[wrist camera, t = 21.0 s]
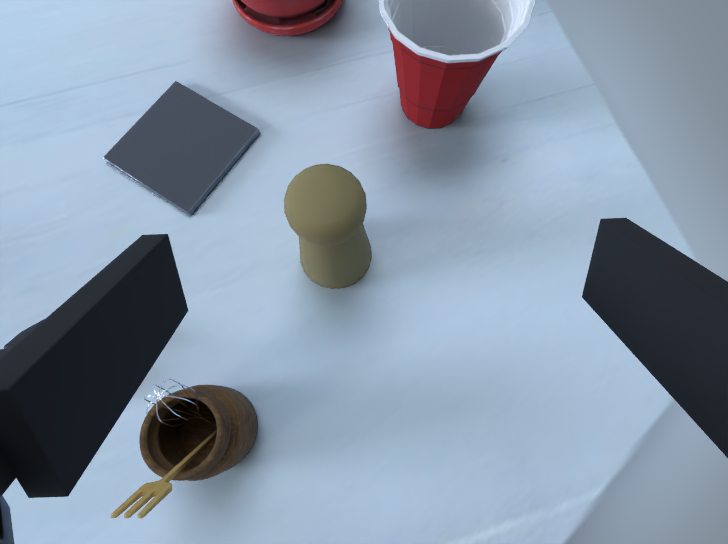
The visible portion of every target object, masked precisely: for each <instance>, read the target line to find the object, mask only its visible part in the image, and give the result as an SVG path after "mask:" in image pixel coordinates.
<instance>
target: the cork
mask: <svg viewBox="0 0 728 544" xmlns="http://www.w3.org/2000/svg"><path fill="white" fill-rule="evenodd" d="M284 209H285V215H286V217H287V220H288V222H289V224H290V227H291V228H292V229H293V230H294V231H295V232H296V234H297V235H298V236H299V244H300V259H301V264H302V267H303V269H304V272H305V273H306V274H307V276H308V277H309V278H310V279H311V280H312V281H313V282H315V283H317V284H318V285H320V286H323V287H327V288H331V289H335V288H345V287H347V286H350V285H352V284H355V283H356V282H357V281H358V280H359V279H361V278H362V277H363V276H364V274H365V273H366V271H367V270H368V268H369V265H370V261H371V257H372V255H371V246H370V243H369V240H368V237H367V235H366V232H365V229H364V226H363V221H364V217H365V213H366V195H365V192H364V190H363V188H362V186H361V184H360V182H359V180H358V179H357V178H356V177H355V176H354V175H353V174H352V173H351V172H350V171H348V170H346V169H344V168H342V167H340V166H335V165H330V164H320V165H314V166H312V167H309V168H306V169H304V170H303V171H302V172H300V173H299V174H298V175H296V176H295V177H294V179H293V180H292V181H291V183H290V184H289V185H288V188H287V191H286V194H285V198H284Z"/></svg>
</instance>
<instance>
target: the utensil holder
mask: <svg viewBox="0 0 728 544" xmlns="http://www.w3.org/2000/svg"><path fill="white" fill-rule="evenodd" d="M167 380H169V379H167ZM167 380H165V381H167ZM170 380H173V379H170ZM165 381H164V382H165ZM173 381H175V380H173ZM164 382H163V383H162V385H163V384H164ZM175 382H177V381H175ZM177 383H178V382H177ZM178 384H180V383H178ZM153 385H155V384H153ZM153 385H152V387H153ZM162 385H161V387H162ZM180 385H181V384H180ZM155 386H157V385H155ZM175 386H179V385H175ZM175 386H172V387H175ZM181 386H182V385H181ZM183 386H186V385H183ZM183 386H182V387H183ZM157 387H159V386H157ZM161 387H159V388H160V389H163V388H161ZM172 387H170V388H172ZM186 387H188V386H186ZM170 388H168V389H170ZM183 388H184V387H183ZM160 389H159V392H160ZM168 389H166V390H168ZM153 390H154V387H153ZM163 390H165V389H163ZM166 390H165V391H166ZM154 391H155V390H154ZM165 391H163V392H165ZM159 392H158V394H157V393H156V391H155V393H156V394H157V395H152V396H157V397H155V398H154V399H153V400H155V399H156V398H157V402H156V404H155V405H154V406H153V407H152V408H151V410H150V411H149V412H148V414H147V409H148V407H149V405H150V404H151V403H152V402H153V400H152V401H151V402H150V401H148V400H146V399H145V398H146V397H150V396H146V397H144V399H145V400H146V401H148V402H150V404H149V405H148V407H147V409H146V414H147V416H146V418H145V420H144V422H143V424H142V428H141V432H140V450H141V454H142V457H143V459H144V461H145V463H146V464H147V466H148V467H149V468H150V469H151V470H152V471H153V472H154V473H156V474H157V475H159V476H161V477H163V478H162V479H161V480H159V481H156V482H151V483H146V484H144V485H143V486H141V487H140V488H139V489H138V490H137V491H136V492H135V493H134V494H133V495H132V496H130V497H129V498H128V499H127V500H126V501H125V502H124V503H123V504H122V505H121V506H120V507H118V508H117V509H116V510H115V511H114V512H113V513H112V514H111V518H116V517H117V516H119V515H120V514H121V513H122V512H123V511H125V510H126V509H127V508H128V507H129V506H131V505H132V504H133V503H134V502H135V501H136V500H138V499H139V498H140V497H142V496H143V497H142V498H141V499H140V500H139V501H138V502H137V503H136V504H135V505H134V506H132V507H131V508H130V509H129V510H128V511H127V512H126V513H125V514H124V518H129V517H131V516H132V515H133V514H134V513H135V512H137V511H138V510H139V509H140V508H141V507H142V506H143V505H144V504H146V503H147V502H148V501H149V500H150V499H151V498H152V497H154V496H155V497H154V498H153V499H152V500H151V501H150V502H149V503H148V504H147V505H146V506H145V508H144V509H143V510H142V511H141V512H140V513H139V514H138V515H137V517H138V518H143V517H144V516H145V515H146V514H148V513H149V512H150V511H151V510H152V509H153V508H154V507H155V506H156V505H157V504H158V503H159V502H160V501H161V500H162V499H163V498H164V497H165V496H167V495H168V494H169V493H170V492H171V491H172V484H171V483H168V482H169V481H170V480H179V481H182V480H189V481H196V480H203V479H207V478H210V477H213V476H215V475H218V474H220V473H222V472H224V471H226V470H228V469H230V468H232V467H233V466H235V465H236V464H237V463H239V462H240V461H241V460H242V459H243V458H244V457H245V456H246V455H247V453H248V452H249V451H250V449H251V447H252V445H253V443H254V441H255V437H256V433H257V417H256V413H255V410H254V408H253V406H252V404H251V403H250V401H249V400H248V399H247V398H246V397H245V396H244V395H243V394H241V393H240V392H238V391H236V390H234V389H231V388H228V387H223V386H216V385H197V386H192V387H188V388H186V389H185V388H184V389H183V390H179V391H176V392H174V393H169V392H168V391H166V392H168V393H169V395H167V396H165V397H164V398H162V399H161V398H160V397H159V396H163V395H160V394H162V393H163V392H162V393H160V394H159ZM158 397H159V398H160V400H159V401H158ZM152 404H154V403H152Z"/></svg>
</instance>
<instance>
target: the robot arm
mask: <svg viewBox="0 0 728 544" xmlns="http://www.w3.org/2000/svg"><path fill="white" fill-rule="evenodd" d="M582 298H583V299H584V300H585V301H586V302H587V303H588V304H589V305H590V306H591V308H592V309H593V310H594V311H595V312H596V313H597V314H598V315H599V316H600V317H601V319H602V320H603V321H604V322H605V323H606V324H607V325H608V326H609V327H610V329H611V330H612V331H613V332H614V333H615V334H616V335H617V336H618V337H619V338H620V340H621V341H622V342H623V343H624V344H625V345H626V346H627V347H628V348H629V350H630V351H631V352H632V353H633V354H634V355H635V356H636V357H637V358H638V359H639V361H640V362H641V363H642V364H643V365H644V366H645V367H646V368H647V369H648V371H649V372H650V373H651V374H652V375H653V376H654V377H655V378H656V379H657V380H658V382H659V383H660V384H661V385H662V386H663V387H664V388H665V389H666V390H667V392H668V393H669V394H670V395H671V396H672V397H673V398H674V399H675V400H676V401H677V402H678V404H679V405H680V406H681V407H682V408H683V409H684V410H685V411H686V412H687V414H688V415H689V416H690V417H691V418H692V419H693V420H694V421H695V422H696V423H697V425H698V426H699V427H700V428H701V429H702V430H703V431H704V432H705V433H706V435H707V436H708V437H709V438H710V439H711V440H712V441H713V442H714V443H715V444H716V446H717V447H718V448H719V449H720V450H721V451H722V452H723V453H724V454H725V456H726V457H727V458H728V282H727V281H725V280H724V279H722V278H721V277H719V276H718V275H716V274H714V273H713V272H711V271H710V270H708V269H707V268H705V267H703V266H702V265H700V264H699V263H697V262H695V261H694V260H692V259H691V258H689V257H687V256H686V255H684V254H683V253H681V252H679V251H678V250H676V249H675V248H673V247H672V246H670V245H668V244H667V243H665V242H664V241H662V240H660V239H659V238H657V237H656V236H654V235H652V234H651V233H649V232H648V231H646V230H644V229H643V228H641V227H640V226H638V225H637V224H635V223H633V222H632V221H630V220H629V219H627V218H612V219H601V220H600V224H599V229H598V233H597V237H596V241H595V245H594V249H593V253H592V257H591V262H590V266H589V270H588V274H587V278H586V282H585V286H584V291H583V295H582ZM187 312H188V308H187V304H186V300H185V297H184V293H183V289H182V285H181V282H180V278H179V274H178V270H177V267H176V263H175V259H174V256H173V252H172V248H171V244H170V241H169V237H168V234H157V235H142V236H141V237H140V238H139V239H137V240H136V241H135V242H134V243H133V244H132V245H130V246H129V247H128V248H127V249H126V250H125V251H124V252H122V253H121V254H120V255H119V256H118V257H117V258H115V259H114V260H113V261H112V262H111V263H110V264H108V265H107V266H106V267H105V268H104V269H103V270H102V271H100V272H99V273H98V274H97V275H96V276H95V277H93V278H92V279H91V280H90V281H89V282H88V283H87V284H85V285H84V286H83V287H82V288H81V289H80V290H78V291H77V292H76V293H75V294H74V295H73V296H71V297H70V298H69V299H68V300H67V301H66V302H65V303H63V304H62V305H61V306H60V307H59V308H58V309H56V310H55V311H54V312H53V313H52V314H51V315H50V316H48V317H47V318H46V319H44V320H42V321H40V322H38V323H37V324H35V325H33V326H31V327H29V328H27V329H26V330H24V331H22V332H21V333H19V334H18V335H17V336H16V337H15V338H13V339H12V340H11V341H10V342H9V343H8V344H6V345H5V346H4V349H0V544H14V538H13V530H12V522H11V514H10V507H9V506H8V504H7V502H6V500H5V499H4V497H3V496H2V495H3V493H4V492H5V491H6V490H7V488H8V487H9V486H10V485H11V483H12V482H13V481H14V480H15V478H17V480H18V481H19V483H20V484H21V486H22V488H23V489H24V491H25V492H26V494H27V496H28V497H29V498H35V497H65V496H69V494H70V493H71V491H72V489H73V488H74V486H75V485H76V483H77V482H78V480H79V479H80V477H81V476H82V474H83V472H84V471H85V469H86V468H87V466H88V465H89V463H90V462H91V460H92V459H93V457H94V455H95V454H96V452H97V451H98V449H99V448H100V446H101V445H102V443H103V442H104V440H105V438H106V437H107V435H108V434H109V432H110V431H111V429H112V428H113V426H114V425H115V423H116V421H117V420H118V418H119V417H120V415H121V414H122V412H123V411H124V409H125V408H126V406H127V404H128V403H129V401H130V400H131V398H132V397H133V395H134V394H135V392H136V391H137V389H138V387H139V386H140V384H141V383H142V381H143V380H144V378H145V377H146V375H147V374H148V372H149V370H150V369H151V367H152V366H153V364H154V363H155V361H156V360H157V358H158V357H159V355H160V354H161V352H162V350H163V349H164V347H165V346H166V344H167V343H168V341H169V340H170V338H171V337H172V335H173V333H174V332H175V330H176V329H177V327H178V326H179V324H180V323H181V321H182V320H183V318H184V316H185V315H186V313H187Z"/></svg>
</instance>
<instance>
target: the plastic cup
mask: <svg viewBox="0 0 728 544" xmlns="http://www.w3.org/2000/svg"><path fill="white" fill-rule="evenodd" d="M535 1H536V0H379V10H380V13H381V16H382V17H383V19H384V21H385V22H386V24H387V26H388V29H389V31H390V36H391V40H392V42H393V50H394V57H395V65H396V73H397V81H398V87H399V88H400V98H401V106H402V107H403V111H404V112H405V114H406V116H407V117H408V119H409V120H411V121H412V122H414V123H415V124H416V125H418V126H422V127H425V128H429V129H430V128H442V127H444V126H446V125H449V124H451V123H452V122H453V121H454V120H455V119H456V118H457V117H458V116H459V115H460V114H461V113H462V111H463V110H464V108H465V106H466V104H467V103H468V101H469V99H470V98H471V97H472V96H473V95H474V93H475V92H476V90H477V88H478V87H479V85H480V84H481V82H482V80H483V79H484V77H485V76H486V74H487V72H488V71H489V69H490V68H491V66H492V64H493V63H494V61H495V60H496V58H497V56H498V55H499V54H500V53H501V52H502V51H503V50H505V49H506V48H507V47H508V46H509V45H510V44H511V43H512V42H513V41H514V40H515V39H516V38H517V37H518V36H519V35H520V33H521V32H522V31H523V30H524V29H525V28H526V27H527V26H528V23H529V20H530V17H531V14H532V11H533V7H534V4H535Z"/></svg>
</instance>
